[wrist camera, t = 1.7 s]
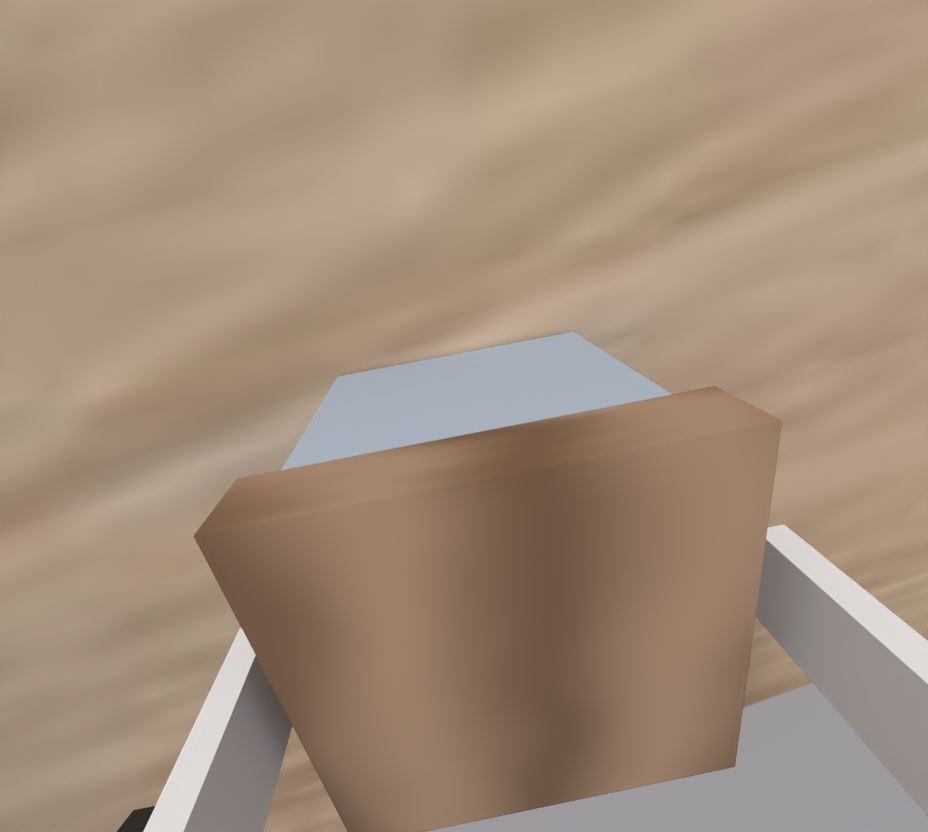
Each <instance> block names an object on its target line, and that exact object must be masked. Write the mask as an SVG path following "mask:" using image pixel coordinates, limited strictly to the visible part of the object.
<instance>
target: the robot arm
mask: <svg viewBox="0 0 928 832" xmlns="http://www.w3.org/2000/svg"><path fill="white" fill-rule="evenodd" d="M756 618H757V619H758V620H759V621H760V622H761V623H762V625H763V626H764V627H765V628H766V629H767V630H768V631H769V633H770V634H771V635H772V636H773V637H774V638H775V640H776V641H777V642H778V643H779V644H780V645H781V647H782V648H783V649H784V650H785V651H786V652H787V654H788V655H789V656H790V657H791V658H792V659H793V660H794V662H795V663H796V664H797V665H798V666H799V667H800V669H801V670H802V671H803V672H804V673H805V674H806V676H807V677H808V678H809V679H810V680H811V681H812V683H813V684H814V685H815V686H816V687H817V688H818V689H819V690H820V692H821V693H822V694H823V695H824V696H825V698H826V699H827V700H828V701H829V702H830V703H831V704H832V706H833V707H834V708H835V709H836V710H837V711H838V713H839V714H840V715H841V716H842V717H843V718H844V720H845V721H846V722H847V723H848V724H849V725H850V727H851V728H852V729H853V730H854V731H855V732H856V733H857V735H858V736H859V737H860V738H861V739H862V741H864V743H865V744H866V745H867V746H868V747H869V749H870V750H871V751H872V752H873V753H874V754H875V756H876V757H877V758H878V759H879V760H880V761H881V763H882V764H883V765H884V766H885V767H886V768H887V769H888V771H889V772H890V773H891V774H892V775H893V776H894V778H895V779H896V780H897V781H898V782H899V783H900V785H901V786H902V787H903V788H904V789H905V790H906V791H907V793H908V794H909V795H910V796H911V797H912V798H913V800H914V801H915V802H916V803H917V804H918V805H919V807H920V808H921V809H922V810H923V811H924V812H925V813H926V814H927V816H928V641H927V640H926V639H925V638H923V637H922V636H921V635H920V634H918V633H917V632H916V631H915V630H913V629H912V628H911V627H910V626H908V625H907V624H906V623H905V622H904V621H902V620H901V619H900V618H899V617H897V616H896V615H895V614H894V613H892V612H891V611H890V610H889V609H888V608H886V607H885V606H884V605H883V604H881V603H880V602H879V601H878V600H876V599H875V598H874V597H873V596H871V595H870V594H869V593H868V592H867V591H865V590H864V589H863V588H862V587H860V586H859V585H858V584H857V583H855V582H854V581H853V580H852V579H850V578H849V577H848V576H847V575H846V574H844V573H843V572H842V571H841V570H839V569H838V568H837V567H836V566H834V565H833V564H832V563H831V562H830V561H828V560H827V559H826V558H825V557H823V556H822V555H821V554H820V553H818V552H817V551H816V550H815V549H813V548H812V547H811V546H810V545H809V544H807V543H806V542H805V541H804V540H802V539H801V538H800V537H799V536H797V535H796V534H795V533H794V532H792V531H791V530H790V529H789V528H788V527H786V526H785V525H780V526H774V527H769V528H767V535H766V543H765V550H764V557H763V565H762V572H761V579H760V587H759V594H758V601H757V609H756ZM291 728H292V724H291V722H290V720H289V718H288V716H287V714H286V712H285V710H284V708H283V706H282V704H281V703H280V701H279V699H278V697H277V695H276V693H275V691H274V689H273V687H272V685H271V683H270V681H269V679H268V678H267V676H266V674H265V672H264V670H263V668H262V666H261V664H260V662H259V660H258V658H257V656H256V655H255V653H254V651H253V649H252V647H251V645H250V643H249V641H248V639H247V637H246V635H245V633H244V632H243V630H242V628H240V629H239V631H238V634H237V636H236V638H235V640H234V642H233V644H232V646H231V648H230V650H229V652H228V655H227V657H226V659H225V661H224V663H223V665H222V667H221V669H220V671H219V674H218V676H217V678H216V680H215V682H214V684H213V686H212V688H211V690H210V692H209V695H208V697H207V699H206V701H205V703H204V705H203V707H202V709H201V711H200V713H199V716H198V718H197V720H196V722H195V724H194V726H193V728H192V730H191V732H190V734H189V737H188V739H187V741H186V743H185V745H184V747H183V749H182V751H181V753H180V756H179V758H178V760H177V762H176V764H175V766H174V768H173V770H172V772H171V774H170V777H169V779H168V781H167V783H166V785H165V787H164V789H163V791H162V793H161V795H160V798H159V800H158V802H157V804H156V806H153V807H148V808H143V809H138V810H133V812H132V813H131V814H130V815H129V817H128V818H127V819H126V821H125V822H124V823H123V824H122V826H121V827H120V828H119V829H118V831H117V832H263V830H264V826H265V823H266V819H267V815H268V812H269V808H270V805H271V801H272V797H273V794H274V790H275V786H276V783H277V779H278V775H279V772H280V768H281V764H282V761H283V757H284V754H285V750H286V746H287V743H288V739H289V735H290V732H291Z"/></svg>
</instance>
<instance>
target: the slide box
mask: <svg viewBox="0 0 928 832" xmlns="http://www.w3.org/2000/svg"><path fill="white" fill-rule="evenodd" d="M667 395H672V394H671V393H669V392H667V391H666V390H664V389H663V388H661V387H659V386H658V385H656V384H655V383H653V382H652V381H650V380H648V379H647V378H645V377H644V376H642V375H640V374H639V373H637V372H636V371H634V370H633V369H631V368H629V367H628V366H626V365H625V364H623V363H622V362H620V361H618V360H617V359H615V358H614V357H612V356H610V355H609V354H607V353H606V352H604V351H603V350H601V349H599V348H598V347H596V346H595V345H593V344H591V343H590V342H588V341H587V340H585V339H584V338H582V337H580V336H579V335H577V334H576V333H574V332H570V333H564V334H559V335H554V336H549V337H543V338H538V339H533V340H528V341H522V342H517V343H512V344H506V345H501V346H496V347H491V348H485V349H480V350H475V351H470V352H464V353H459V354H454V355H449V356H443V357H438V358H433V359H428V360H422V361H417V362H412V363H407V364H401V365H396V366H391V367H386V368H380V369H375V370H370V371H365V372H359V373H354V374H349V375H343V376H338V377H337V378H336V380H335V382H334V383H333V385H332V387H331V388H330V390H329V392H328V393H327V395H326V397H325V398H324V400H323V402H322V403H321V405H320V407H319V408H318V410H317V412H316V413H315V415H314V417H313V418H312V420H311V422H310V423H309V425H308V427H307V428H306V430H305V432H304V433H303V435H302V437H301V438H300V440H299V442H298V443H297V445H296V447H295V448H294V450H293V452H292V453H291V455H290V456H289V458H288V460H287V461H286V463H285V465H284V466H283V468H282V470H285V469H290V468H295V467H300V466H305V465H310V464H316V463H321V462H326V461H331V460H336V459H341V458H347V457H352V456H357V455H362V454H367V453H372V452H378V451H383V450H388V449H393V448H398V447H403V446H409V445H414V444H419V443H424V442H429V441H434V440H440V439H445V438H450V437H455V436H460V435H465V434H471V433H476V432H481V431H486V430H491V429H496V428H502V427H507V426H512V425H517V424H522V423H527V422H533V421H538V420H543V419H548V418H553V417H558V416H564V415H569V414H574V413H579V412H584V411H589V410H595V409H600V408H605V407H610V406H615V405H620V404H626V403H631V402H636V401H641V400H646V399H651V398H657V397H662V396H667Z"/></svg>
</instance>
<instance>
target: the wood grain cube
mask: <svg viewBox="0 0 928 832" xmlns="http://www.w3.org/2000/svg"><path fill="white" fill-rule="evenodd" d="M781 426H782V420H780V419H778V418H776V417H774V416H772V415H770V414H768V413H766V412H764V411H762V410H760V409H758V408H756V407H754V406H752V405H750V404H749V403H747V402H745V401H743V400H741V399H739V398H737V397H735V396H733V395H731V394H729V393H727V392H725V391H723V390H721V389H719V388H717V387H715V386H713V387H708V388H703V389H698V390H693V391H688V392H682V393H677V394H672V395H667V396H662V397H657V398H651V399H646V400H641V401H636V402H631V403H626V404H620V405H615V406H610V407H605V408H600V409H595V410H589V411H584V412H579V413H574V414H569V415H564V416H558V417H553V418H548V419H543V420H538V421H533V422H527V423H522V424H517V425H512V426H507V427H502V428H496V429H491V430H486V431H481V432H476V433H471V434H465V435H460V436H455V437H450V438H445V439H440V440H434V441H429V442H424V443H419V444H414V445H409V446H403V447H398V448H393V449H388V450H383V451H378V452H372V453H367V454H362V455H357V456H352V457H347V458H341V459H336V460H331V461H326V462H321V463H316V464H310V465H305V466H300V467H295V468H290V469H285V470H279V471H274V472H269V473H264V474H259V475H254V476H248V477H243V478H238V479H236V481H235V482H234V483H233V485H232V486H231V487H230V489H229V490H228V491H227V493H226V494H225V495H224V497H223V498H222V499H221V500H220V502H219V503H218V504H217V506H216V507H215V508H214V510H213V511H212V512H211V514H210V515H209V516H208V518H207V519H206V520H205V521H204V523H203V524H202V525H201V527H200V528H199V529H198V531H197V532H196V533H195V535H194V538H195V539H196V541H197V543H198V545H199V547H200V549H201V551H202V553H203V555H204V557H205V559H206V561H207V563H208V564H209V566H210V568H211V570H212V572H213V574H214V576H215V578H216V580H217V582H218V584H219V586H220V587H221V589H222V591H223V593H224V595H225V597H226V599H227V601H228V603H229V605H230V607H231V609H232V610H233V612H234V614H235V616H236V618H237V620H238V622H239V624H240V626H241V628H242V630H243V632H244V633H245V635H246V637H247V639H248V641H249V643H250V645H251V647H252V649H253V651H254V653H255V655H256V656H257V658H258V660H259V662H260V664H261V666H262V668H263V670H264V672H265V674H266V676H267V678H268V679H269V681H270V683H271V685H272V687H273V689H274V691H275V693H276V695H277V697H278V699H279V701H280V703H281V704H282V706H283V708H284V710H285V712H286V714H287V716H288V718H289V720H290V722H291V724H292V726H293V727H294V729H295V731H296V733H297V735H298V737H299V739H300V741H301V743H302V745H303V747H304V749H305V750H306V752H307V754H308V756H309V758H310V760H311V762H312V764H313V766H314V768H315V770H316V772H317V773H318V775H319V777H320V779H321V781H322V783H323V785H324V787H325V789H326V791H327V793H328V795H329V796H330V798H331V800H332V802H333V804H334V806H335V808H336V810H337V812H338V814H339V816H340V818H341V819H342V821H343V823H344V825H345V827H346V829H347V831H348V832H425V831H431V830H435V829H440V828H445V827H450V826H455V825H459V824H464V823H469V822H473V821H478V820H483V819H488V818H493V817H498V816H502V815H507V814H512V813H516V812H521V811H526V810H531V809H536V808H540V807H545V806H550V805H555V804H559V803H564V802H569V801H574V800H578V799H583V798H588V797H593V796H598V795H602V794H608V793H612V792H617V791H622V790H627V789H631V788H636V787H641V786H646V785H650V784H655V783H660V782H665V781H670V780H674V779H679V778H684V777H688V776H694V775H698V774H703V773H708V772H712V771H717V770H722V769H727V768H731V767H735V762H736V755H737V747H738V740H739V733H740V725H741V718H742V711H743V703H744V696H745V689H746V682H747V674H748V667H749V660H750V652H751V645H752V638H753V630H754V623H755V616H756V609H757V601H758V594H759V587H760V579H761V572H762V565H763V557H764V550H765V543H766V535H767V528H768V521H769V514H770V506H771V499H772V492H773V484H774V477H775V470H776V462H777V455H778V448H779V441H780V433H781Z"/></svg>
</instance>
